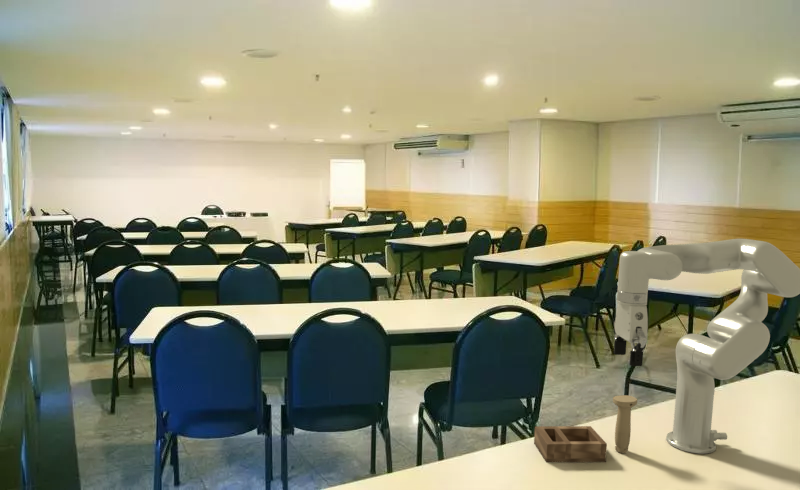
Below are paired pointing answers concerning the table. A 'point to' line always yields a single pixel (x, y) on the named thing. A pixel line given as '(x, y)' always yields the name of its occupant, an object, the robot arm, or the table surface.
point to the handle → (623, 421)
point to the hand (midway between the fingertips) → (627, 359)
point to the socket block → (570, 444)
